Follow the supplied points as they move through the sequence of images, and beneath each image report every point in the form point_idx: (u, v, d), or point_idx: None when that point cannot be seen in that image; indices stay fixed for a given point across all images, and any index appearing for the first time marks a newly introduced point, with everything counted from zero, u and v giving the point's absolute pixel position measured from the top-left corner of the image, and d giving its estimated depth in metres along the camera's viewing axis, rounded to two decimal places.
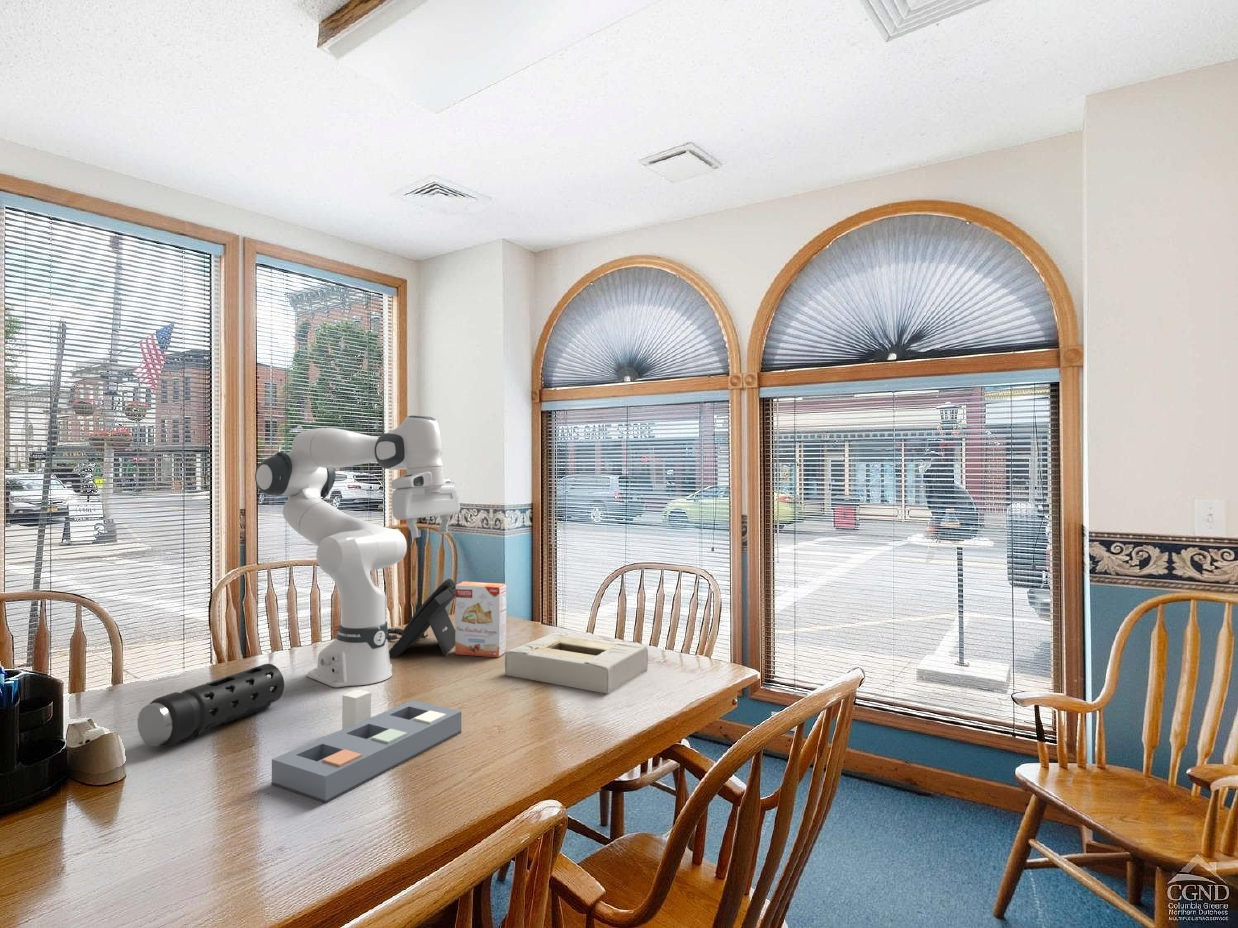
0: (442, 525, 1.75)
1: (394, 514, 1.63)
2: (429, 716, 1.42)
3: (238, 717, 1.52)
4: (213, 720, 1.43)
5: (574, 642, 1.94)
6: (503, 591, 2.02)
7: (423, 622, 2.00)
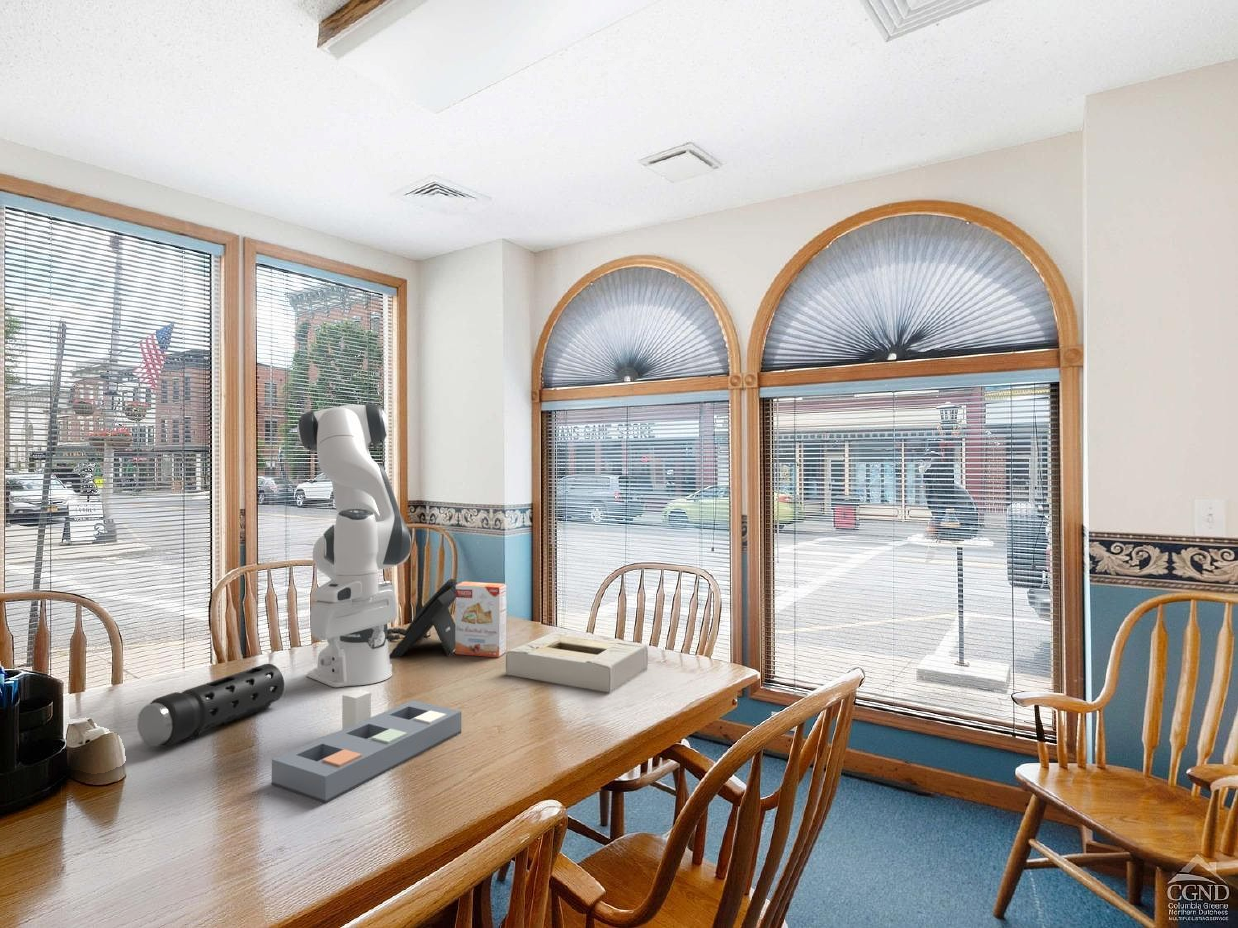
0: (374, 636, 1.50)
1: (312, 632, 1.38)
2: (429, 716, 1.42)
3: (238, 717, 1.52)
4: (213, 720, 1.43)
5: (574, 641, 1.95)
6: (503, 591, 2.02)
7: (426, 622, 2.00)
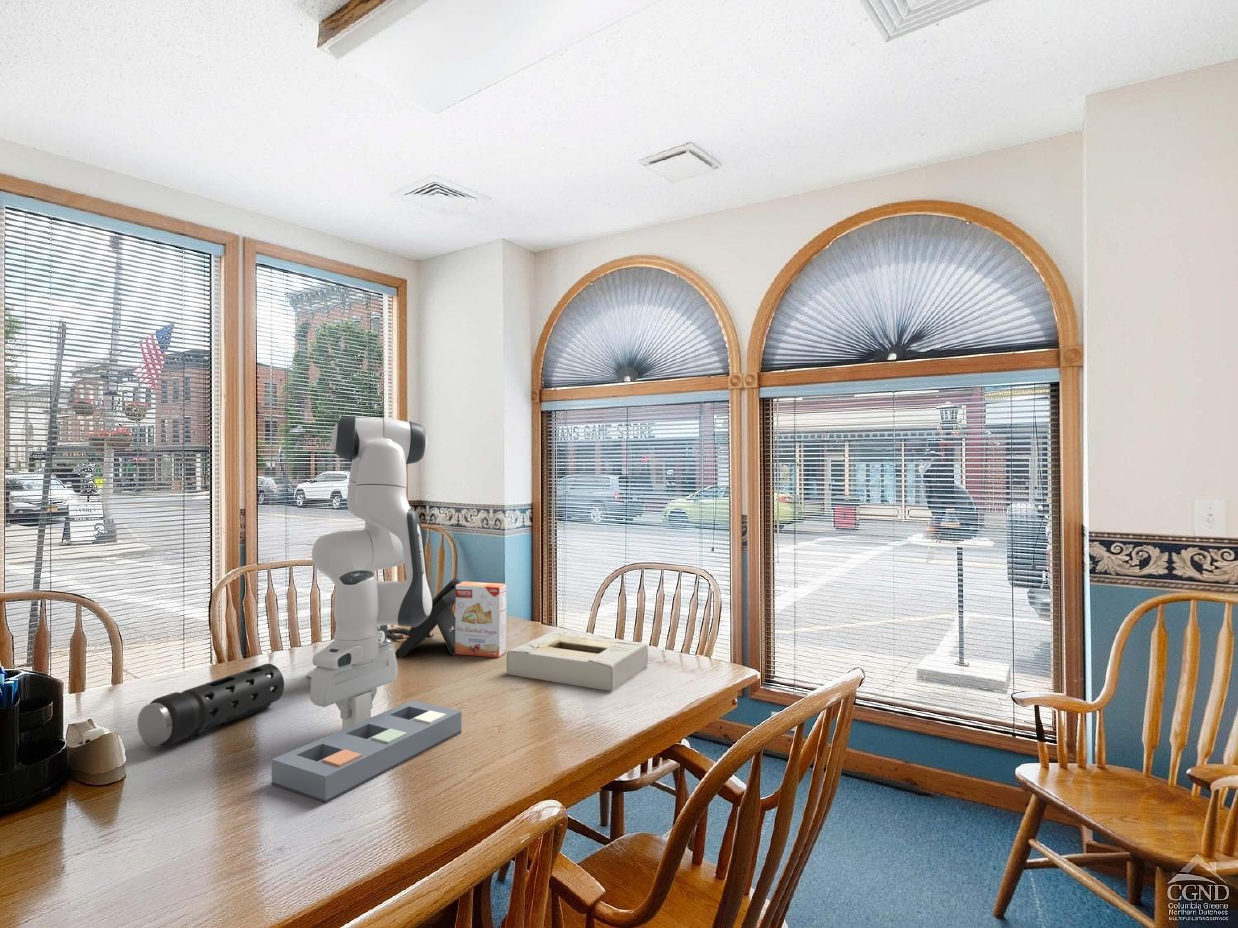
0: None
1: (312, 699, 1.38)
2: (429, 716, 1.42)
3: (238, 717, 1.52)
4: (213, 720, 1.43)
5: (574, 640, 1.95)
6: (503, 591, 2.02)
7: (430, 622, 2.00)
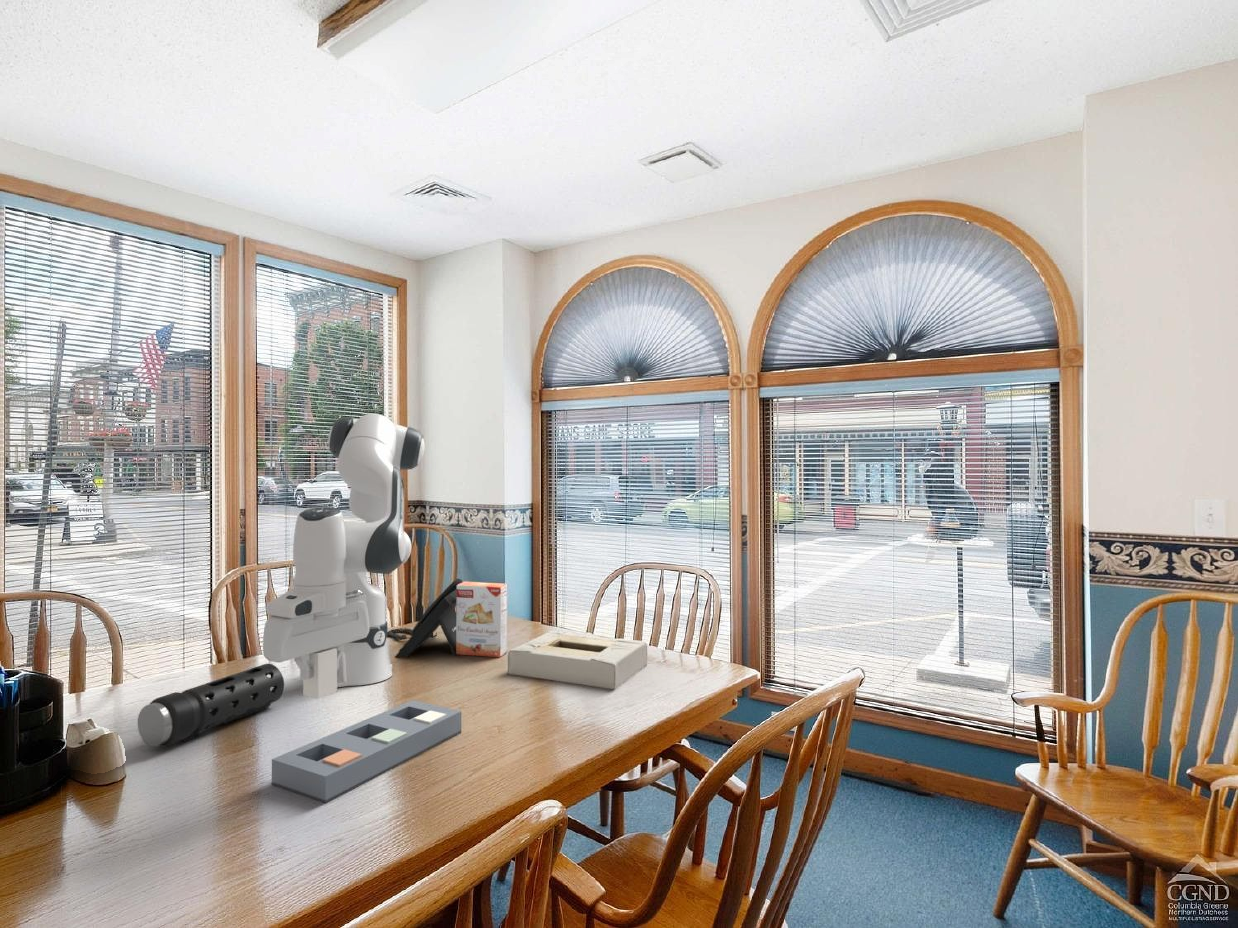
0: None
1: (265, 653, 1.17)
2: (429, 716, 1.42)
3: (238, 717, 1.52)
4: (213, 720, 1.43)
5: (574, 639, 1.96)
6: (504, 591, 2.02)
7: (433, 622, 2.00)
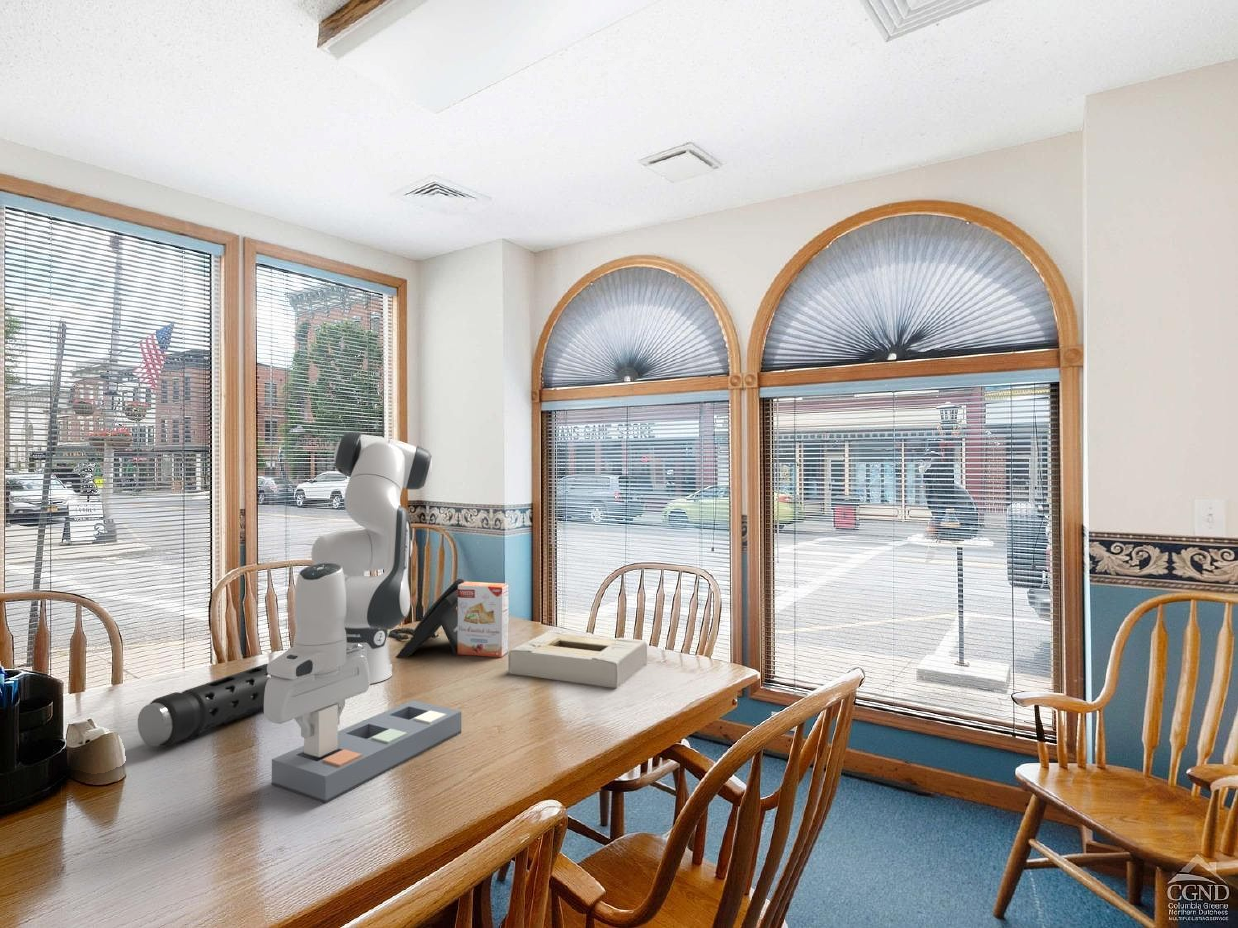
0: None
1: (265, 715, 1.17)
2: (429, 716, 1.42)
3: (238, 717, 1.52)
4: (213, 720, 1.43)
5: (574, 639, 1.97)
6: (505, 591, 2.03)
7: (434, 622, 2.00)
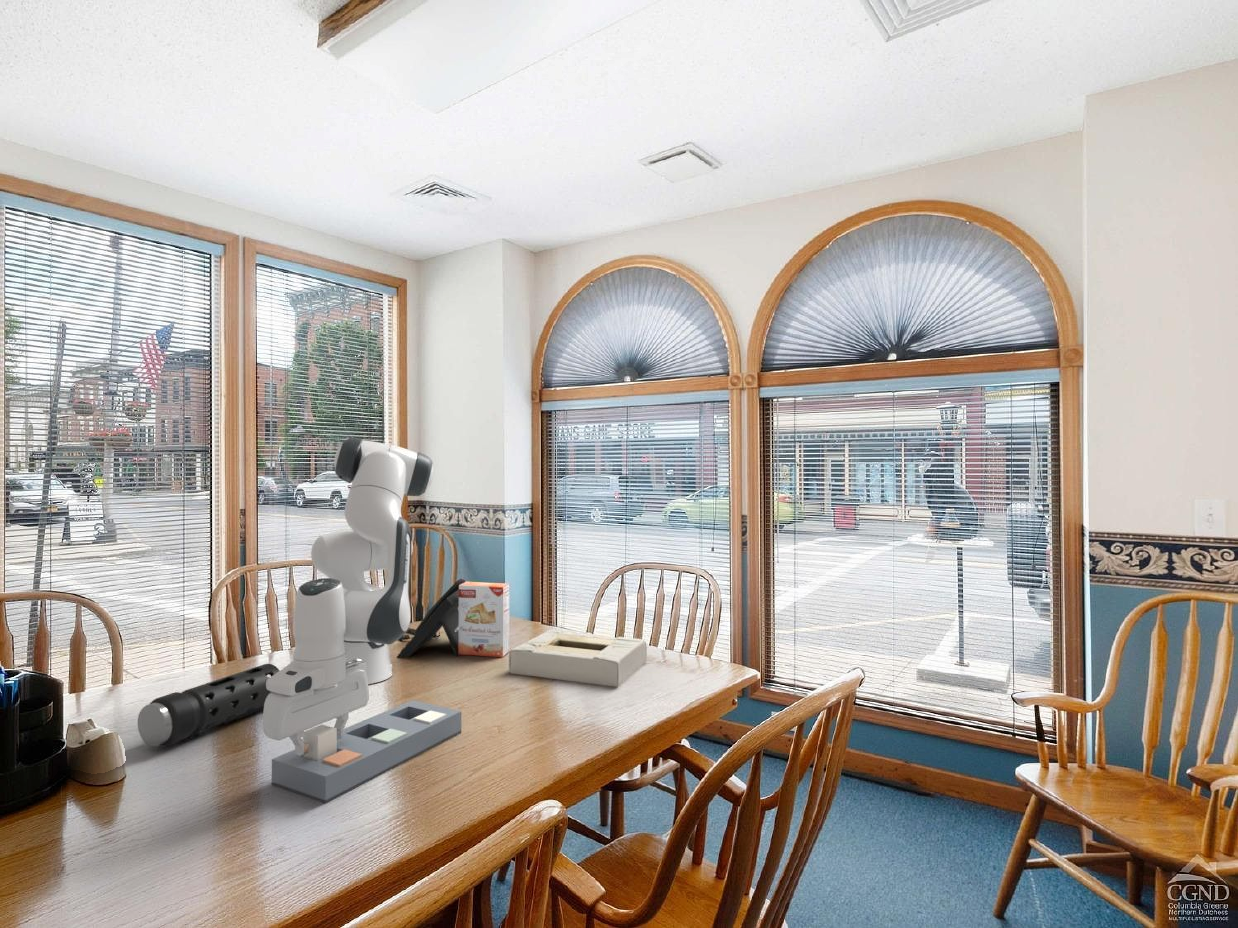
0: (336, 727, 1.29)
1: (264, 731, 1.17)
2: (429, 716, 1.42)
3: (238, 717, 1.52)
4: (213, 720, 1.43)
5: (574, 638, 1.98)
6: (506, 591, 2.03)
7: (435, 622, 1.99)
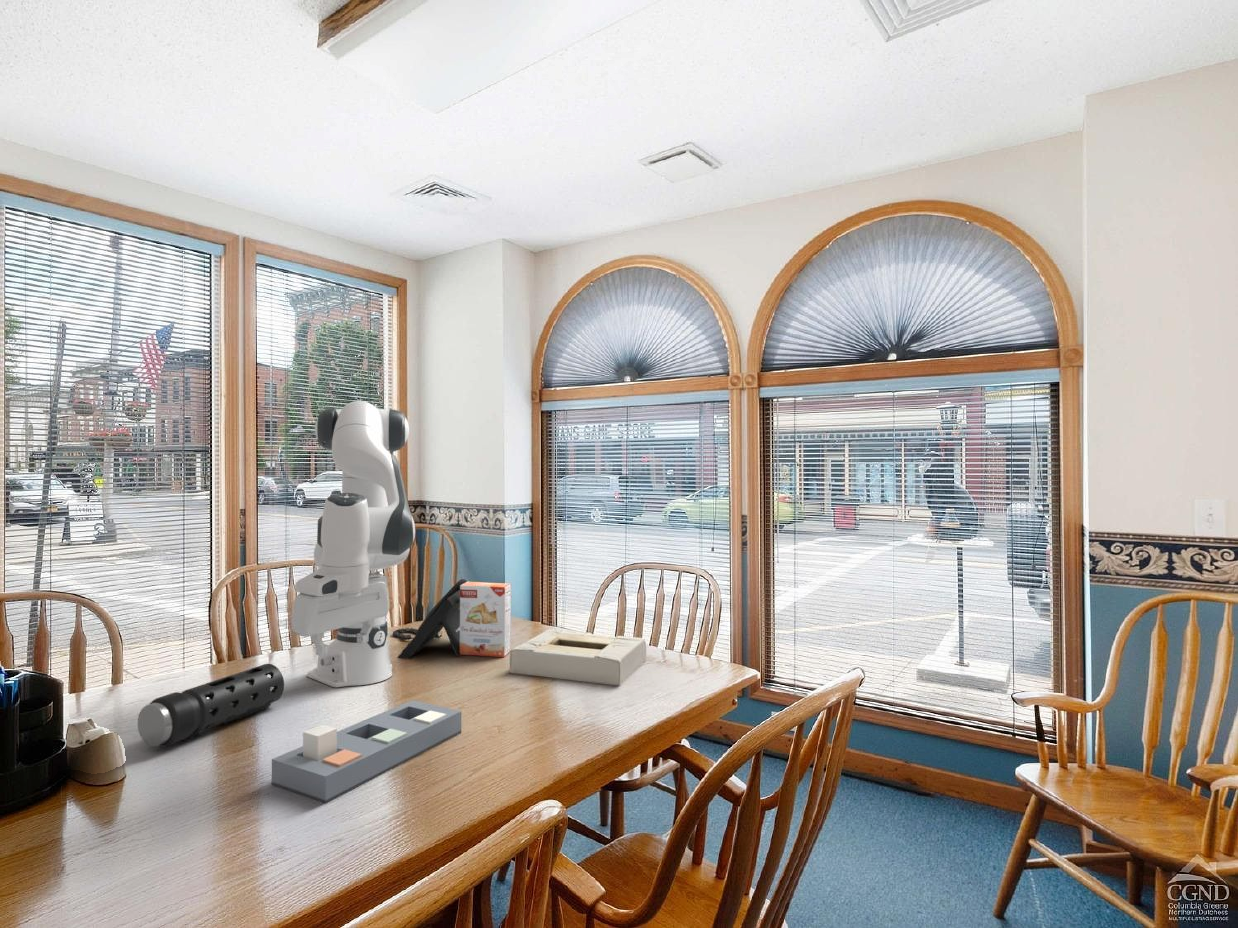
0: (362, 631, 1.39)
1: (293, 628, 1.26)
2: (429, 716, 1.42)
3: (238, 717, 1.52)
4: (213, 720, 1.43)
5: (573, 638, 1.98)
6: (507, 591, 2.03)
7: (436, 622, 1.99)
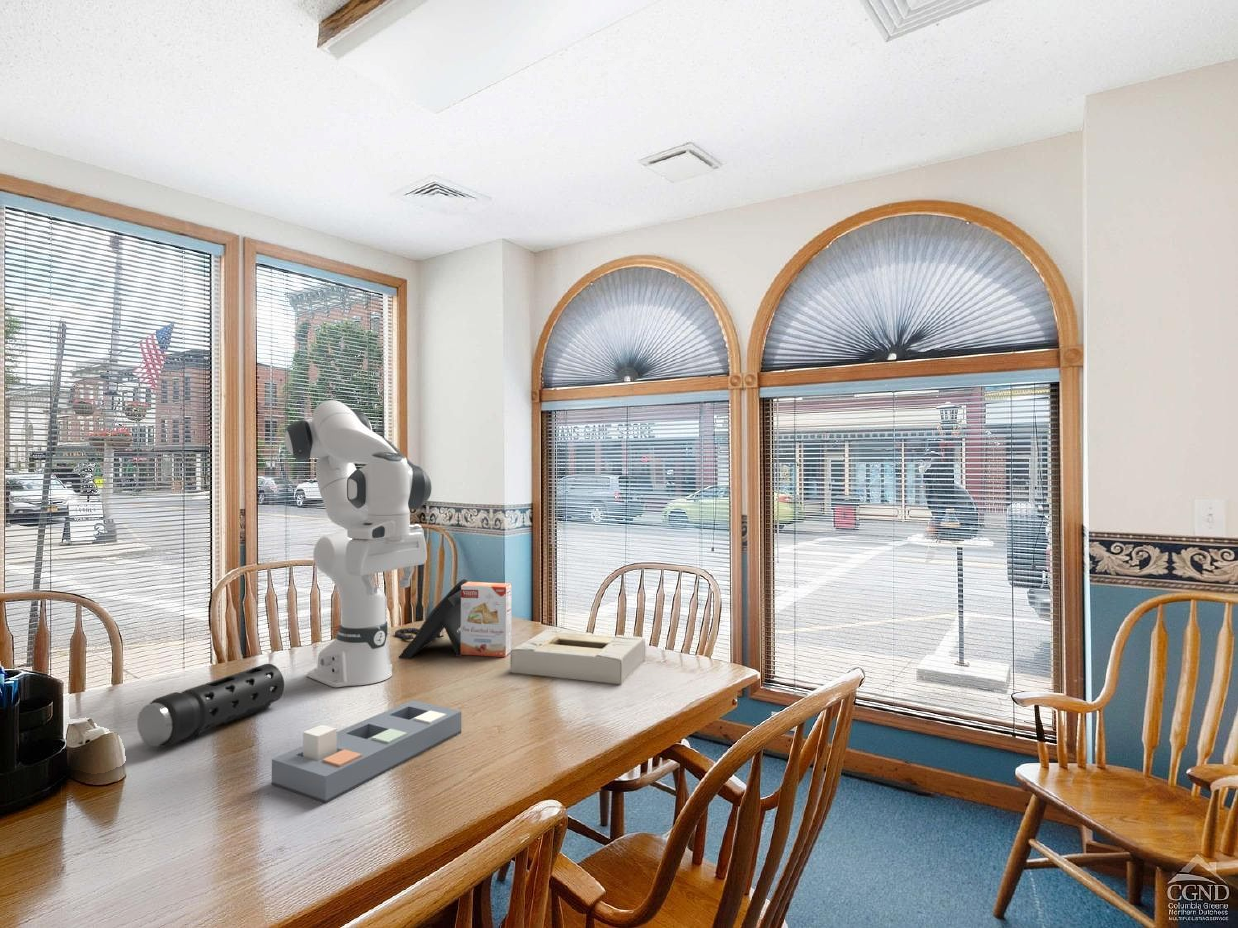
0: (404, 577, 1.54)
1: (347, 569, 1.42)
2: (429, 716, 1.42)
3: (238, 717, 1.52)
4: (213, 720, 1.43)
5: (573, 637, 1.99)
6: (508, 591, 2.03)
7: (436, 622, 1.99)
